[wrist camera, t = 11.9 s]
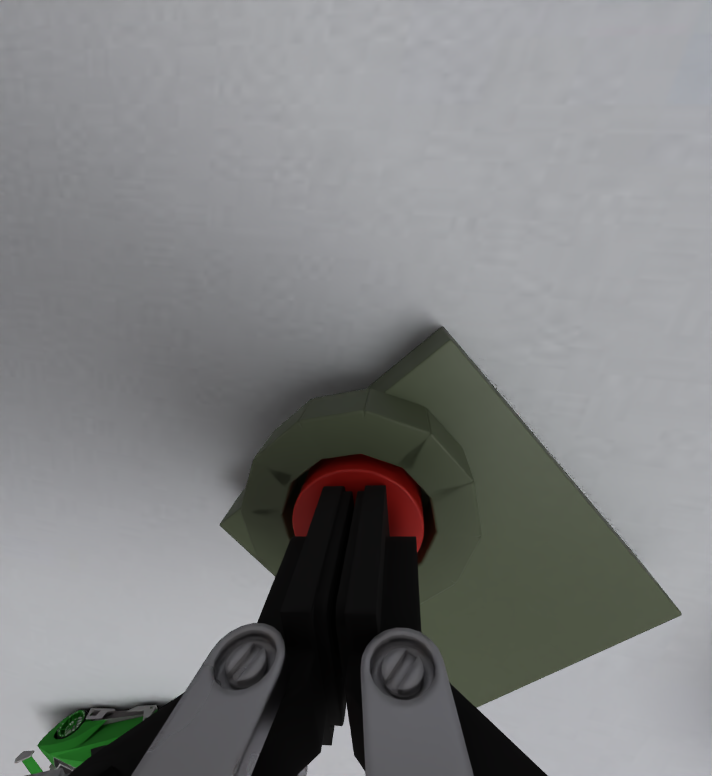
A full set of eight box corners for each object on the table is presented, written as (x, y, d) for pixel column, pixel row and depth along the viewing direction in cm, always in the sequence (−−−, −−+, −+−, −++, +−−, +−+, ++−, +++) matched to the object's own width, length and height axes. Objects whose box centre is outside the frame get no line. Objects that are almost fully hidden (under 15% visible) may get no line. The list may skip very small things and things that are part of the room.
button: (283, 483, 12) (265, 518, 11) (367, 416, 11) (362, 443, 10) (358, 557, 13) (352, 601, 11) (445, 500, 12) (452, 539, 10)
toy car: (208, 697, 20) (185, 751, 18) (240, 758, 21) (222, 814, 19) (49, 709, 22) (10, 759, 19) (87, 764, 23) (54, 816, 21)
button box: (220, 468, 15) (161, 536, 11) (417, 296, 12) (425, 312, 9) (432, 670, 17) (441, 784, 14) (643, 564, 15) (727, 670, 11)
